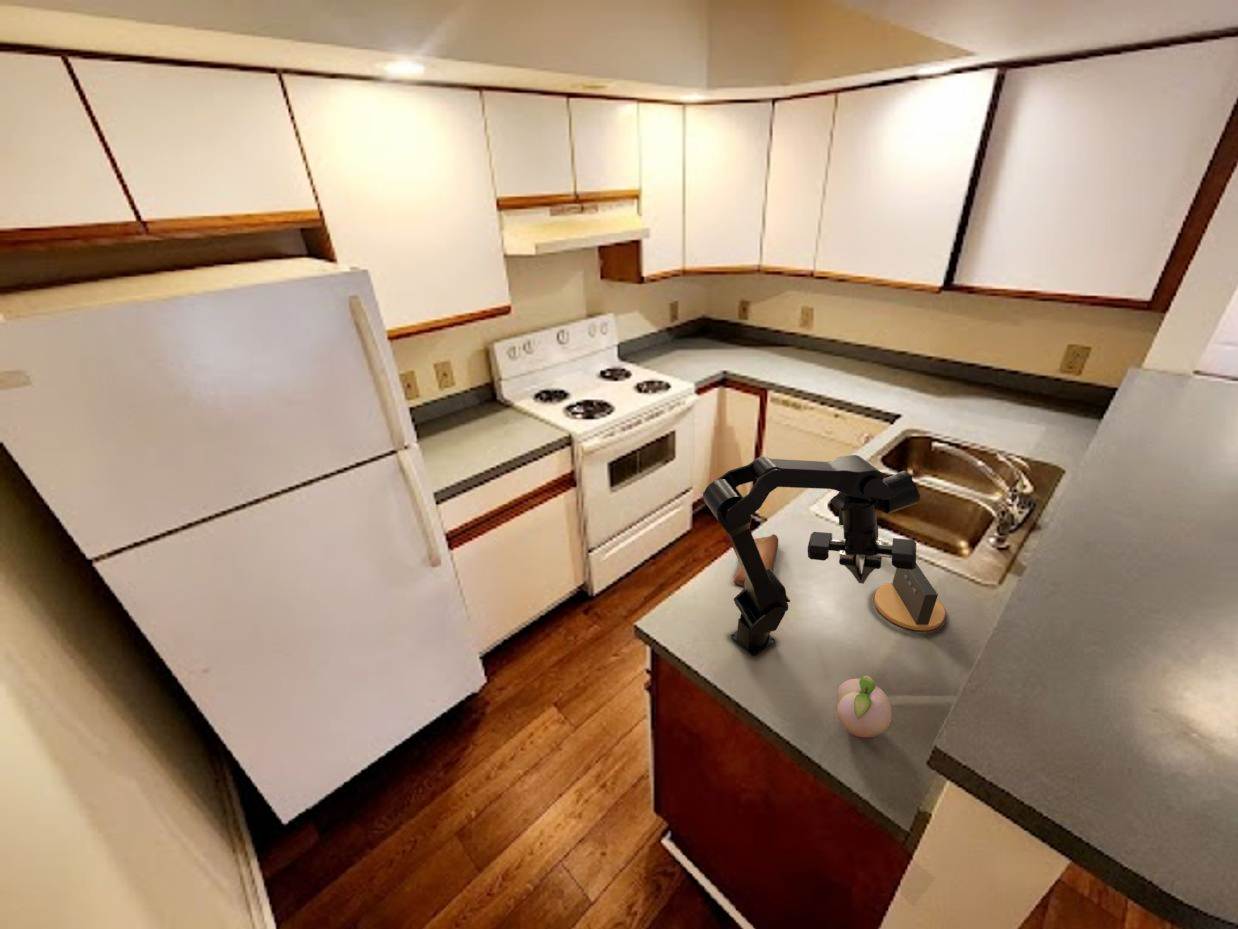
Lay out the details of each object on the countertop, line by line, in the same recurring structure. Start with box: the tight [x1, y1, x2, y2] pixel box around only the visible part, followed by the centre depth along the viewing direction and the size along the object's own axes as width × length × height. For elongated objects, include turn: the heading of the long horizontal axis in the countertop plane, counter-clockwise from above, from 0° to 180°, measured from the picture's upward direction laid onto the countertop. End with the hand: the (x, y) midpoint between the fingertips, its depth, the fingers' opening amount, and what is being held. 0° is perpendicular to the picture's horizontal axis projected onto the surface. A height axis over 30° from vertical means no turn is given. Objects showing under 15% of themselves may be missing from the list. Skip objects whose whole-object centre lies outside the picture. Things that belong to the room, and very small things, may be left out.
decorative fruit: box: [836, 675, 892, 738], centre depth 88 cm, size 9×8×10 cm
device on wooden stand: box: [874, 563, 946, 631], centre depth 111 cm, size 13×13×9 cm
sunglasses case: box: [733, 533, 779, 588], centre depth 128 cm, size 18×7×7 cm
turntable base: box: [871, 589, 947, 633], centre depth 113 cm, size 14×14×1 cm
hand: (861, 582), depth 106 cm, fingers closed
